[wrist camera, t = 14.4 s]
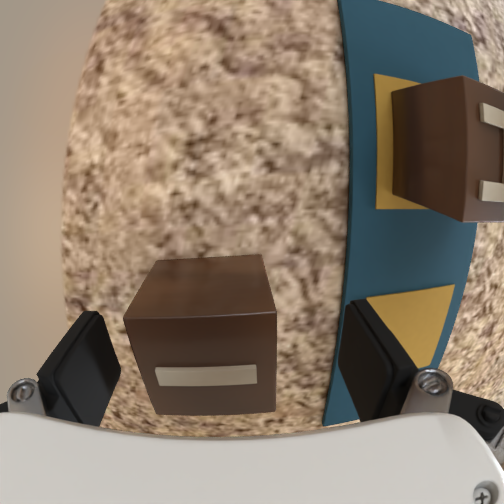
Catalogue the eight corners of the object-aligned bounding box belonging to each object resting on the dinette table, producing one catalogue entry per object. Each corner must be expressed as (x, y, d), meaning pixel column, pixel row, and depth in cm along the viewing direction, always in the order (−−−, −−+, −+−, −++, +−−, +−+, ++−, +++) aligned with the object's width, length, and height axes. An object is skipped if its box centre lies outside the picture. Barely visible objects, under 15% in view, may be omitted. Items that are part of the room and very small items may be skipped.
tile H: (391, 194, 11) (466, 225, 7) (390, 90, 10) (467, 73, 5) (462, 197, 12) (533, 224, 7) (463, 108, 10) (537, 108, 5)
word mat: (321, 422, 17) (323, 427, 16) (335, -6, 8) (339, -10, 8) (421, 397, 17) (423, 401, 17) (467, 36, 9) (472, 34, 8)
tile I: (172, 344, 14) (155, 419, 9) (156, 259, 12) (119, 321, 8) (263, 340, 14) (276, 416, 9) (261, 253, 12) (278, 315, 8)
